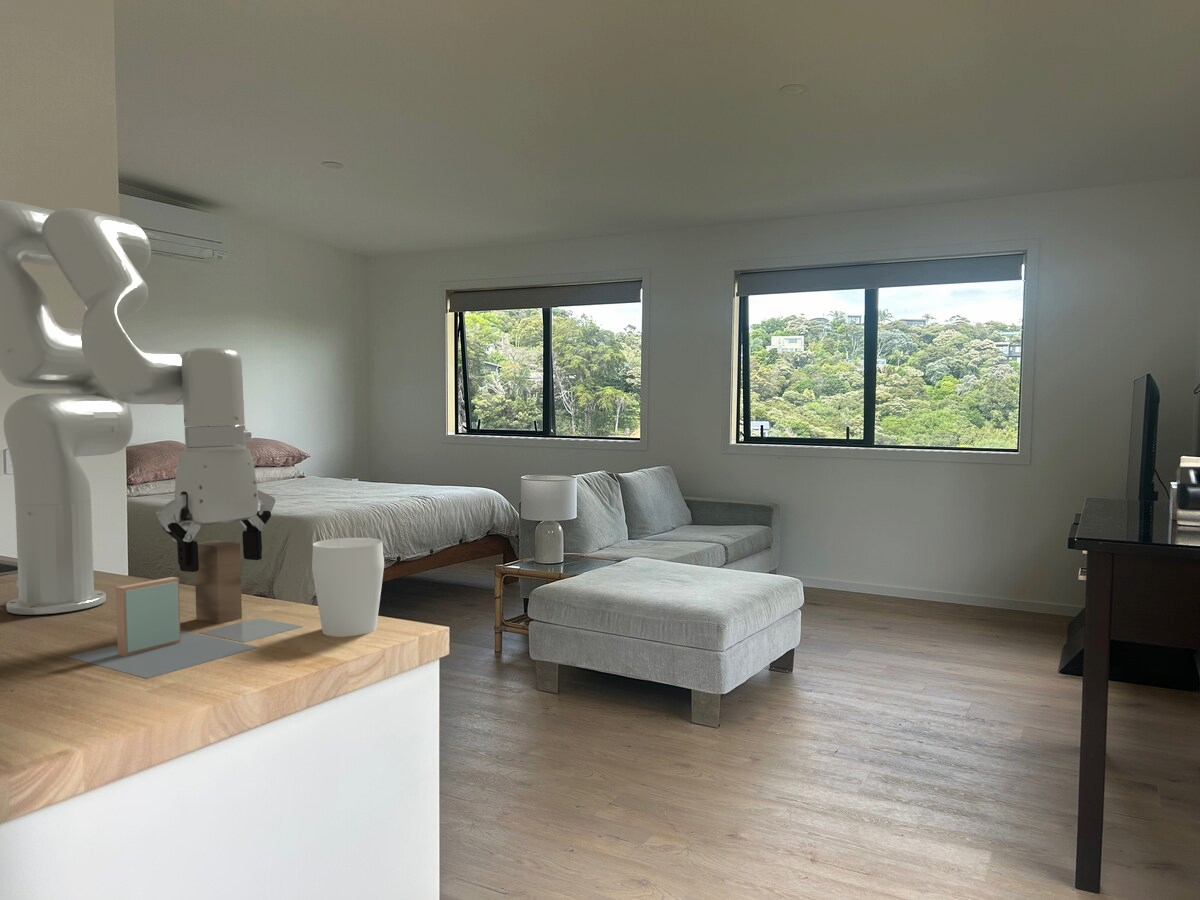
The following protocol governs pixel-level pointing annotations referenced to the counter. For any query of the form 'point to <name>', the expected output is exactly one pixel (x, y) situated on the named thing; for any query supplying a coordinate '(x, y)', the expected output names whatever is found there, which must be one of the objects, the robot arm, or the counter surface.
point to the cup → (348, 584)
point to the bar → (218, 582)
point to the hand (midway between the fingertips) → (222, 565)
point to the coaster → (251, 630)
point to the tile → (147, 615)
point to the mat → (165, 655)
